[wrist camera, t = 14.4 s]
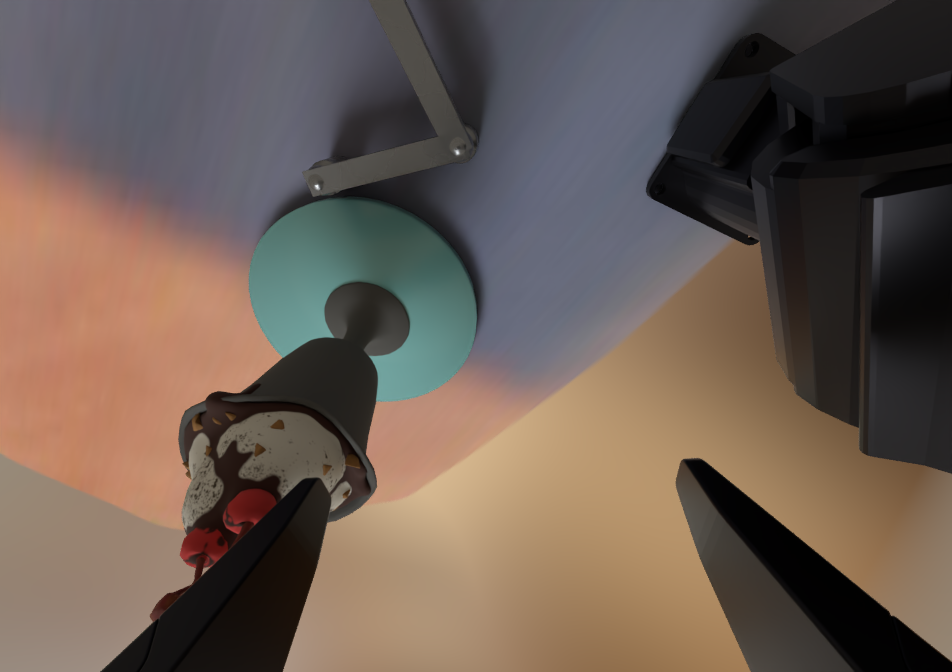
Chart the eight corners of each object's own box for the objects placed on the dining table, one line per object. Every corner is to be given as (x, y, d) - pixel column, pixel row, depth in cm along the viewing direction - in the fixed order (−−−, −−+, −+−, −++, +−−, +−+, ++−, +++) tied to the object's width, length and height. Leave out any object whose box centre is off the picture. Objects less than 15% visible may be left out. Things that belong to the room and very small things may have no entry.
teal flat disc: (514, 255, 19) (515, 261, 18) (436, 413, 26) (434, 424, 25) (268, 151, 17) (256, 153, 16) (252, 354, 24) (243, 363, 23)
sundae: (402, 253, 18) (198, 570, 6) (437, 357, 22) (359, 696, 9) (288, 277, 19) (-100, 591, 7) (339, 372, 23) (147, 697, 10)
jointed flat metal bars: (534, -8, 14) (543, -36, 11) (446, 231, 19) (439, 250, 16) (343, -115, 12) (302, -176, 10) (305, 171, 17) (271, 182, 15)
